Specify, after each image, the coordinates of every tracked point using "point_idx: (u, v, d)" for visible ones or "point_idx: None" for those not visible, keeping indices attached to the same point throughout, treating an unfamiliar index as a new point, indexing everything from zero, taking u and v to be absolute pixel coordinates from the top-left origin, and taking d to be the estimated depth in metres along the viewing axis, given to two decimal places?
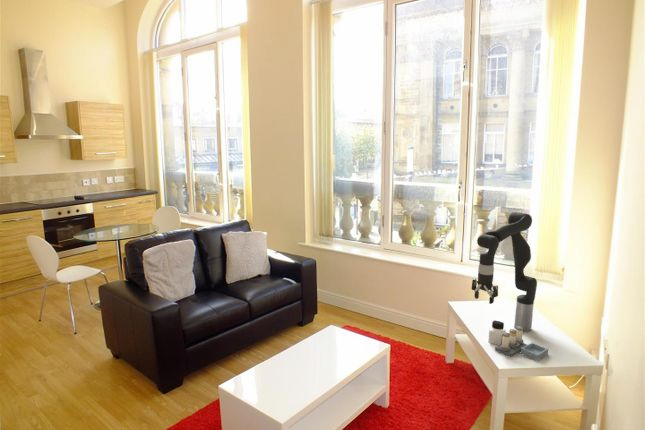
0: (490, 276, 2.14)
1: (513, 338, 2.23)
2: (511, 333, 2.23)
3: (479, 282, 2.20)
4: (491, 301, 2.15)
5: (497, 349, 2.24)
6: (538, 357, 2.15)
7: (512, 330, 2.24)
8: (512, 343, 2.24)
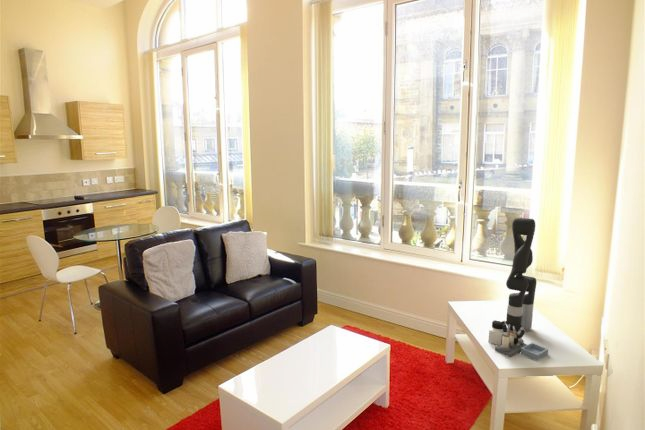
0: (519, 317, 2.19)
1: (513, 338, 2.23)
2: (511, 333, 2.23)
3: (508, 322, 2.25)
4: (516, 342, 2.23)
5: (497, 349, 2.24)
6: (538, 357, 2.15)
7: None
8: (512, 343, 2.24)
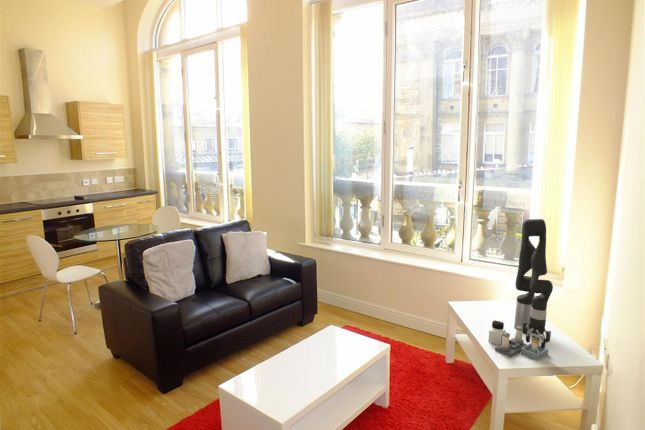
0: (543, 321, 2.14)
1: (536, 345, 2.18)
2: (534, 340, 2.18)
3: (531, 326, 2.20)
4: (543, 346, 2.16)
5: (497, 349, 2.24)
6: (538, 357, 2.15)
7: (535, 337, 2.19)
8: (535, 350, 2.19)
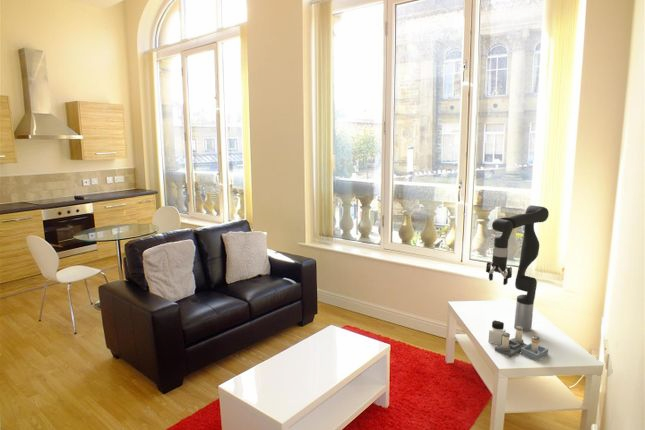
0: (504, 258, 2.26)
1: (536, 345, 2.18)
2: (534, 340, 2.18)
3: (493, 264, 2.32)
4: (505, 282, 2.27)
5: (497, 349, 2.24)
6: (538, 357, 2.15)
7: (535, 337, 2.19)
8: (535, 350, 2.19)
